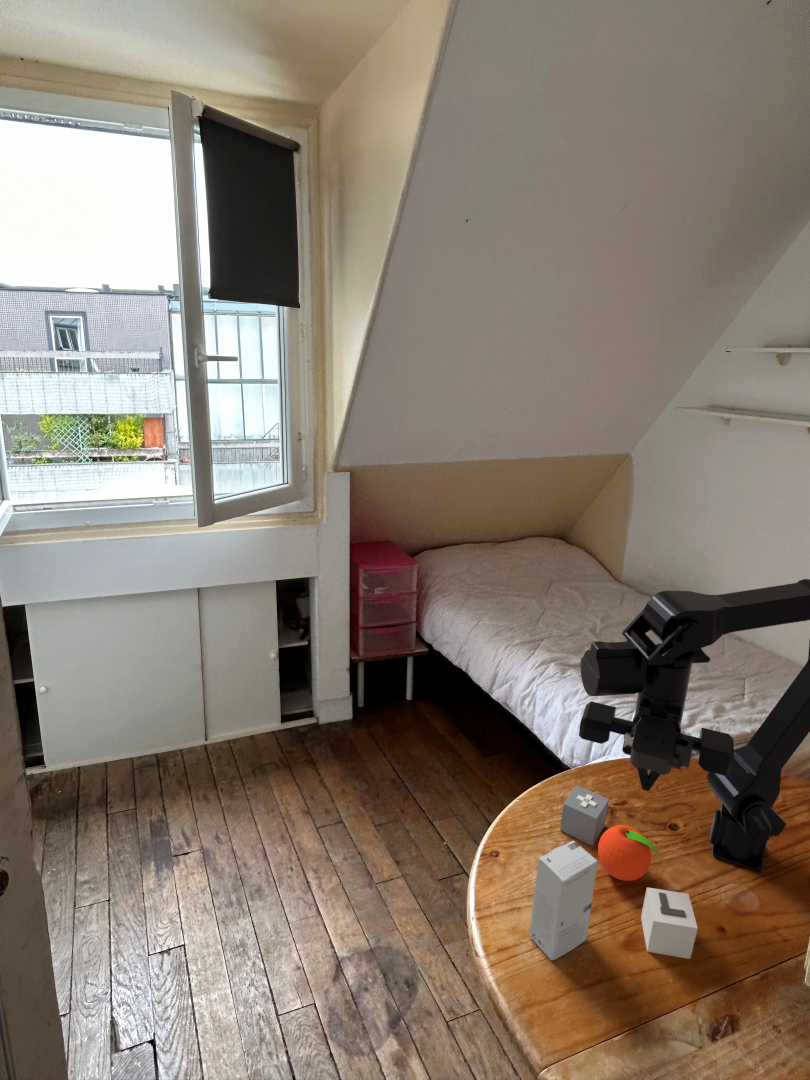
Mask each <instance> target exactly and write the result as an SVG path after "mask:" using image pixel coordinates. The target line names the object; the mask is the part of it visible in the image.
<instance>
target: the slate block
mask: <svg viewBox="0 0 810 1080" xmlns="http://www.w3.org/2000/svg"><path fill="white" fill-rule="evenodd" d="M609 801H610V799H609V798H607V797H604V796H602V795H600V794H598V793H595V792H593V791H591V790H589V789H586V788H584V787H581V786H580V785H576V786H575V787H574V788H573V790H572V791H571V793H570V794H569V796H568V797H567V798H566V799H565V801H564V803H563V806H562V812H561V820H560V827H559V831H560V832H562V831H563V832H562V833H564V832H565V833H564V834H566V833H567V834H566V835H568V834H570V835H571V836H570V835H569V836H570V837H572V836H574V837H576V838H578V839H580V840H579V841H581V840H582V841H581V842H583V841H585V842H586V843H585V842H584V843H585V844H587V843H589V844H590V845H589V844H588V845H589V846H591V845H592V846H591V847H593V846H594V844H595V843H596V841H597V839H598V838H599V836H600V834H601V832H602V831H603V830H604V828H605V826H606V819H607V813H608V807H609ZM574 837H573V838H574ZM576 838H575V839H576ZM578 839H577V840H578ZM594 842H595V843H594Z"/></svg>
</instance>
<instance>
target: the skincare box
mask: <svg viewBox="0 0 810 1080" xmlns="http://www.w3.org/2000/svg"><path fill="white" fill-rule="evenodd" d="M598 863H599V861H598V859H596V858H595V857H594V856H592V855H591V854H590V852H588V851H586V849H584V848H583V847H582V846H581V845H579V844H578V843H577V842H576V841H575V840H572V841H569V842H568V843H566V844H564V845H562V846H561V845H560V846H558V847H555V848H553V849H552V850H551V851H550V852H549V853H547V854H544V855H543V856H540V857H539V858H538V860H537V868H536V875H535V876H536V878H535V885H534V893H533V901H532V909H531V918H530V924H529V925H530V927H529V937H530V938H531V940H532V941H533V942H534V943H535V945H537V946H538V948H539V949H540V950H541V951H542V952H543V953H544V955H545V956H546V957H547V958H548V959H549V960H550V961H555V960H557V959H558V958H561V957H562V956H565V955H566V954H567V953H569V952H570V951H572V950H574V949H576V948H577V947H578V946H579V945H581V944H582V943H584V942H585V941H586V940H587V938H588V930H589V924H590V919H591V918H590V916H591V910H592V904H593V896H594V890H595V883H596V877H597V869H598V865H599V864H598Z"/></svg>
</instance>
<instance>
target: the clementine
mask: <svg viewBox="0 0 810 1080" xmlns="http://www.w3.org/2000/svg"><path fill="white" fill-rule="evenodd" d="M598 841H599V842H598V848H597V854H598V858H599V860H600V861H599V862H600V863H601V865H602V867H603V868H604V870H606V872H607V873H608V874H609V875H610V876H612V877H613V878H615V879H617V880H619V881H623V882H633V881H635V880H638V879H641V878H642V877H643V876H644V875H646V873H647V872H648V870H649V868H650V866H651V863H652V851H651V849H652V850H653V851H654V852H655V853H656V854H657V857H658V859H659V860H661V858H660V854H659V851H658V850H657V848H656V846H655V845H654V844H652V842H651V841H650V840H649V839H648V838H646V837H645V836H644V835H643V834H642V832H641V831H639V830H638V829H636V828H634V827H632V826H629V825H626V824H625V825H624V824H617V825H614V826H612V827H610V828H608V829H606V830H605V831H604V832H603V833H602V835H601V836H600V838H599V840H598Z"/></svg>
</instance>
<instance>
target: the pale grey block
mask: <svg viewBox="0 0 810 1080" xmlns="http://www.w3.org/2000/svg"><path fill="white" fill-rule="evenodd" d="M640 918H641V925H642V929H643V930H642V931H643V935H644V942H645V948H646V952H648V953H654V954H660V955H666V956H671V957H676V958H682V959H686V960H687V959H689V960H690V959H691V958H692V954H693V949H694V944H695V941H696V937H697V933H698V924H697V921H696V917H695V913H694V909H693V905H692V901H691V899H690V894H689V893H685V892H679V891H672V890H666V889H660V888H653V887H646V890H645V895H644V900H643V905H642V909H641V915H640Z"/></svg>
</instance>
